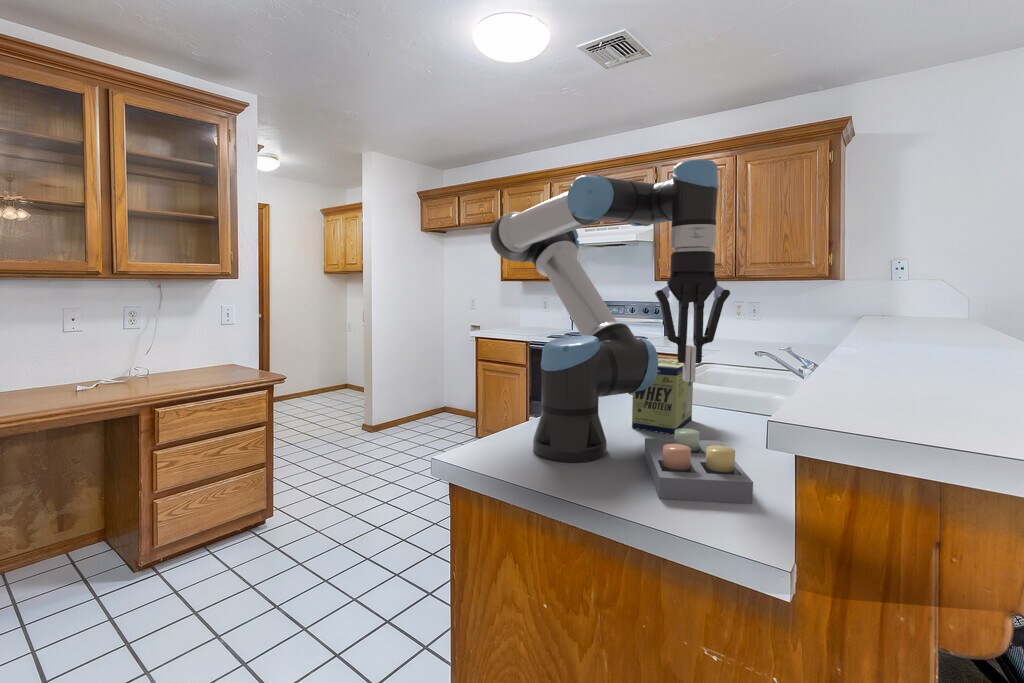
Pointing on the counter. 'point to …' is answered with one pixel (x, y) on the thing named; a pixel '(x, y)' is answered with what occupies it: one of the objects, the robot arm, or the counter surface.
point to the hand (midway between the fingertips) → (688, 380)
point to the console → (696, 477)
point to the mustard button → (720, 458)
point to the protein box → (664, 400)
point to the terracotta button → (676, 456)
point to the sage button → (687, 438)
